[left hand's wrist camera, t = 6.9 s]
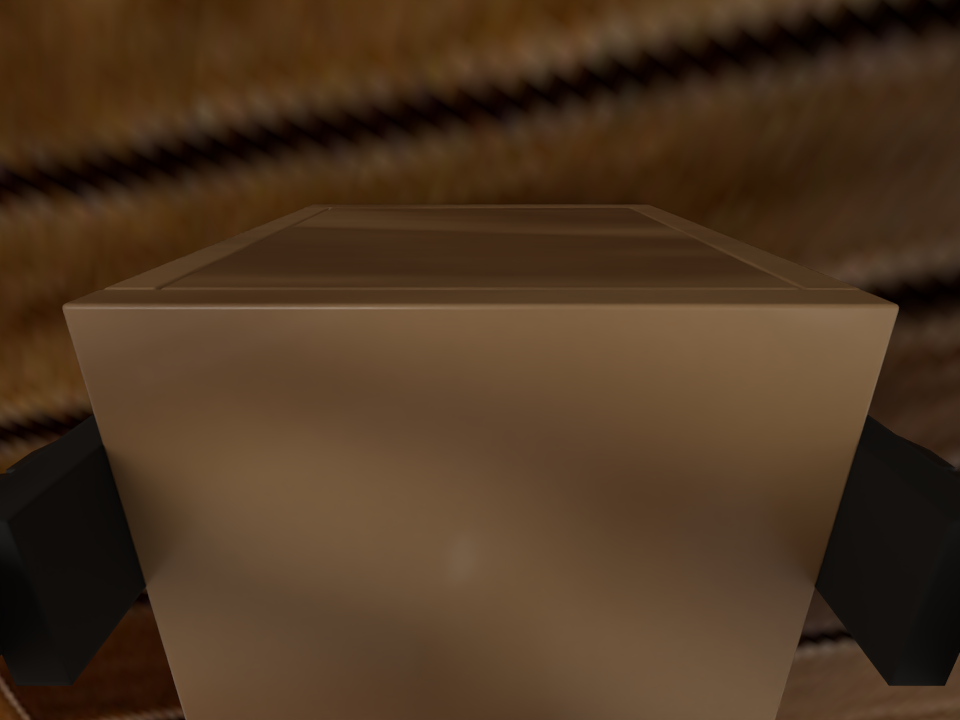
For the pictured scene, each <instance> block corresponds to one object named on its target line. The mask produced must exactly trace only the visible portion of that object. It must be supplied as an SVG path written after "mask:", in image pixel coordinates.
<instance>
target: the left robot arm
mask: <svg viewBox="0 0 960 720" xmlns="http://www.w3.org/2000/svg"><path fill="white" fill-rule="evenodd" d="M145 587H146V586H145V582H144V579H143V576H142V572H141V569H140V566H139V562H138V559H137V556H136V552H135V549H134V546H133V542H132V539H131V536H130V532H129V529H128V526H127V522H126V519H125V516H124V512H123V509H122V506H121V502H120V499H119V496H118V492H117V489H116V486H115V482H114V479H113V476H112V472H111V469H110V466H109V462H108V459H107V456H106V452H105V449H104V446H103V442H102V439H101V436H100V432H99V429H98V426H97V422H96V419H95V416H94V414H93V415H92V416H90V417H89V418H88V419H86V420H85V421H83V422H82V423H81V424H79V425H78V426H76V427H75V428H74V429H72V430H71V431H69V432H68V433H67V434H65V435H64V436H62V437H61V438H59V439H58V440H57V441H55V442H53V443H51V444H48V445H46V446H44V447H42V448H40V449H37V450H35V451H33V452H31V453H30V454H28V455H27V456H26V457H24V458H23V459H21V460H20V461H18V462H17V463H15V464H14V465H13V466H11V467H10V468H8V469H7V470H6V474H0V655H1V654H2V655H3V658H4V660H5V662H6V664H7V666H8V669H9V671H10V673H11V675H12V678H13V680H14V682H15V684H16V685H72V684H73V683H74V682H75V680H76V679H77V678H78V676H79V675H80V674H81V672H82V671H83V670H84V668H85V667H86V666H87V664H88V663H89V662H90V660H91V659H92V658H93V656H94V655H95V654H96V652H97V651H98V650H99V648H100V647H101V646H102V644H103V643H104V642H105V640H106V639H107V638H108V636H109V635H110V634H111V632H112V631H113V630H114V628H115V627H116V626H117V624H118V623H119V622H120V620H121V619H122V618H123V616H124V615H125V614H126V612H127V611H128V610H129V608H130V607H131V606H132V604H133V603H134V602H135V600H136V599H137V598H138V596H139V595H140V594H141V592H142V591H143V590H144V588H145ZM815 587H816V589H817V590H818V591H819V593H820V594H821V595H822V597H823V598H824V599H825V601H826V602H827V603H828V605H829V606H830V607H831V609H832V610H833V611H834V613H835V614H836V615H837V617H838V618H839V619H840V621H841V622H842V623H843V625H844V626H845V627H846V629H847V630H848V631H849V633H850V634H851V635H852V637H853V638H854V639H855V641H856V642H857V644H858V645H859V646H860V648H861V649H862V650H863V652H864V653H865V654H866V656H867V657H868V658H869V660H870V661H871V662H872V664H873V665H874V666H875V668H876V669H877V670H878V672H879V673H880V674H881V676H882V677H883V678H884V680H885V681H886V682H887V684H888V685H889V686H945V684H946V682H947V680H948V677H949V675H950V673H951V671H952V668H953V666H954V664H955V662H956V660H957V657H958V655H959V653H960V472H956V470H955V467H953V466H952V465H951V464H949V463H948V462H946V461H945V460H943V459H942V458H940V457H939V456H938V455H936V454H935V453H933V452H932V451H930V450H928V449H926V448H924V447H922V446H920V445H917V444H915V443H913V442H911V441H909V440H906V439H904V438H902V437H900V436H898V435H896V434H894V433H893V432H891V431H890V430H889V429H887V428H886V427H884V426H883V425H882V424H880V423H879V422H877V421H876V420H874V419H873V418H872V417H870V416H869V415H867V417H866V420H865V423H864V426H863V430H862V433H861V436H860V440H859V443H858V446H857V450H856V453H855V456H854V460H853V463H852V466H851V470H850V473H849V476H848V480H847V483H846V486H845V490H844V493H843V496H842V500H841V503H840V506H839V509H838V513H837V516H836V519H835V523H834V526H833V529H832V533H831V536H830V539H829V543H828V546H827V549H826V553H825V556H824V559H823V563H822V566H821V569H820V573H819V576H818V579H817V583H816V586H815Z"/></svg>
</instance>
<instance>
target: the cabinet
mask: <svg viewBox="0 0 960 720" xmlns="http://www.w3.org/2000/svg"><path fill="white" fill-rule="evenodd" d="M898 310H899V307H898V305H897V304H895V303H892V302H890V301H887V300H885V299H882V298H880V297H877V296H875V295H872V294H870V293H867V292H865V291H862V290H859V289H858V288H856V287H854V286H851V285H849V284H846V283H844V282H841V281H839V280H836V279H834V278H831V277H829V276H826V275H824V274H821V273H819V272H816V271H814V270H811V269H809V268H806V267H804V266H801V265H799V264H796V263H794V262H791V261H789V260H786V259H784V258H781V257H779V256H776V255H774V254H771V253H769V252H766V251H764V250H761V249H759V248H756V247H754V246H751V245H749V244H746V243H744V242H741V241H739V240H736V239H734V238H731V237H729V236H726V235H724V234H721V233H719V232H716V231H714V230H711V229H709V228H706V227H704V226H701V225H699V224H696V223H694V222H691V221H689V220H686V219H684V218H681V217H679V216H676V215H674V214H671V213H669V212H666V211H664V210H661V209H659V208H656V207H653V206H651V205H481V204H313V205H310V206H308V207H305V208H304V209H301V210H299V211H296V212H294V213H291V214H289V215H286V216H284V217H281V218H279V219H276V220H274V221H271V222H269V223H266V224H264V225H261V226H259V227H256V228H254V229H251V230H249V231H246V232H244V233H241V234H239V235H236V236H234V237H231V238H229V239H226V240H224V241H221V242H219V243H216V244H214V245H211V246H209V247H207V248H204V249H202V250H199V251H197V252H194V253H192V254H189V255H187V256H184V257H182V258H179V259H177V260H174V261H172V262H169V263H167V264H164V265H162V266H159V267H157V268H154V269H152V270H149V271H147V272H144V273H142V274H139V275H137V276H134V277H132V278H129V279H127V280H124V281H122V282H119V283H117V284H114V285H112V286H109V287H107V288H105V289H104V290H98V291H96V292H93V293H91V294H88V295H86V296H83V297H81V298H78V299H76V300H73V301H71V302H68V303H66V304H64V305H63V312H64V315H65V319H66V322H67V325H68V329H69V332H70V335H71V339H72V342H73V345H74V349H75V352H76V356H77V359H78V362H79V366H80V369H81V372H82V376H83V379H84V382H85V386H86V389H87V392H88V396H89V399H90V402H91V406H92V409H93V412H94V416H95V419H96V422H97V426H98V429H99V432H100V436H101V439H102V442H103V446H104V449H105V452H106V456H107V459H108V462H109V466H110V469H111V472H112V476H113V479H114V482H115V486H116V489H117V492H118V496H119V499H120V502H121V506H122V509H123V512H124V516H125V519H126V522H127V526H128V529H129V532H130V536H131V539H132V542H133V546H134V549H135V552H136V556H137V559H138V562H139V566H140V569H141V572H142V576H143V579H144V582H145V586H146V589H147V592H148V596H149V599H150V602H151V606H152V609H153V612H154V616H155V619H156V622H157V626H158V629H159V632H160V636H161V639H162V642H163V646H164V649H165V652H166V656H167V659H168V662H169V666H170V669H171V672H172V676H173V679H174V682H175V686H176V689H177V692H178V696H179V699H180V702H181V706H182V709H183V712H184V716H185V719H186V720H775V719H776V715H777V712H778V709H779V705H780V702H781V699H782V695H783V692H784V689H785V685H786V682H787V679H788V675H789V672H790V669H791V666H792V662H793V659H794V656H795V652H796V649H797V646H798V642H799V639H800V636H801V632H802V629H803V626H804V622H805V619H806V616H807V612H808V609H809V606H810V602H811V599H812V596H813V592H814V589H815V586H816V583H817V579H818V576H819V573H820V569H821V566H822V563H823V559H824V556H825V553H826V549H827V546H828V543H829V539H830V536H831V533H832V529H833V526H834V523H835V519H836V516H837V513H838V509H839V506H840V503H841V500H842V496H843V493H844V490H845V486H846V483H847V480H848V476H849V473H850V470H851V466H852V463H853V460H854V456H855V453H856V450H857V446H858V443H859V440H860V436H861V433H862V430H863V426H864V423H865V420H866V417H867V413H868V410H869V407H870V403H871V400H872V397H873V393H874V390H875V387H876V383H877V380H878V377H879V373H880V370H881V367H882V363H883V360H884V357H885V353H886V350H887V347H888V343H889V340H890V337H891V334H892V330H893V327H894V324H895V320H896V317H897V314H898Z"/></svg>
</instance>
